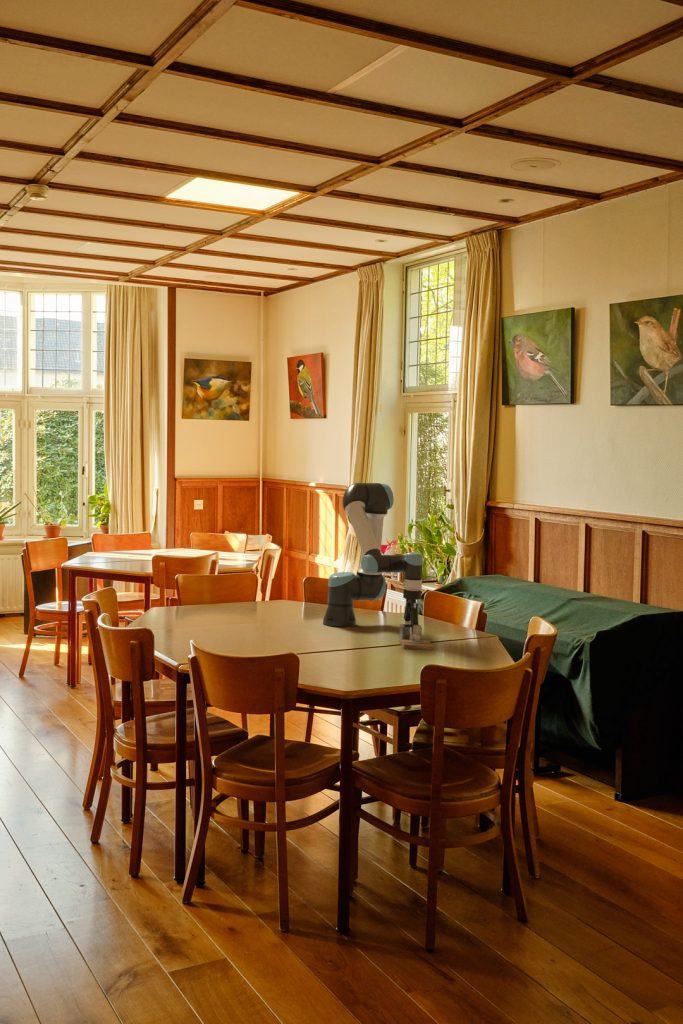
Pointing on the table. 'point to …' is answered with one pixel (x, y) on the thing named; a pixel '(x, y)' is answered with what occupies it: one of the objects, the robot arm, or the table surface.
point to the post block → (416, 641)
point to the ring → (405, 631)
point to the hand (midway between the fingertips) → (410, 639)
